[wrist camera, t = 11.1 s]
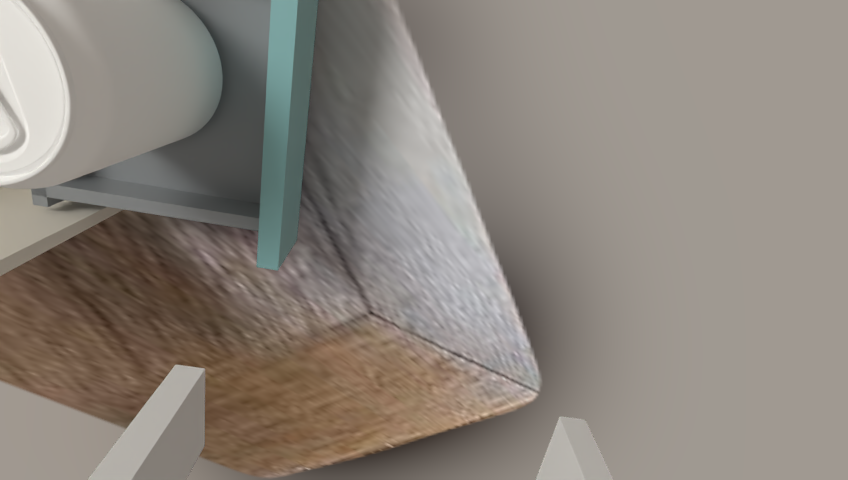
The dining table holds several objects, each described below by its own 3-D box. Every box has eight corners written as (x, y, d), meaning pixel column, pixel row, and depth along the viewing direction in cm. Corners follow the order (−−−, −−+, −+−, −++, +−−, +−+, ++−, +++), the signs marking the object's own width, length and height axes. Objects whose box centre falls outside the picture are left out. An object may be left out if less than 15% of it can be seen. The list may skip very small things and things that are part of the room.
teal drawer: (73, 204, 29) (15, 230, 25) (38, -131, 23) (-49, -173, 18) (296, 239, 30) (277, 270, 26) (324, -68, 24) (304, -94, 20)
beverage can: (196, -31, 24) (4, -105, 13) (247, 126, 27) (128, 177, 16) (48, -1, 24) (-264, -46, 13) (115, 151, 27) (-92, 219, 16)
